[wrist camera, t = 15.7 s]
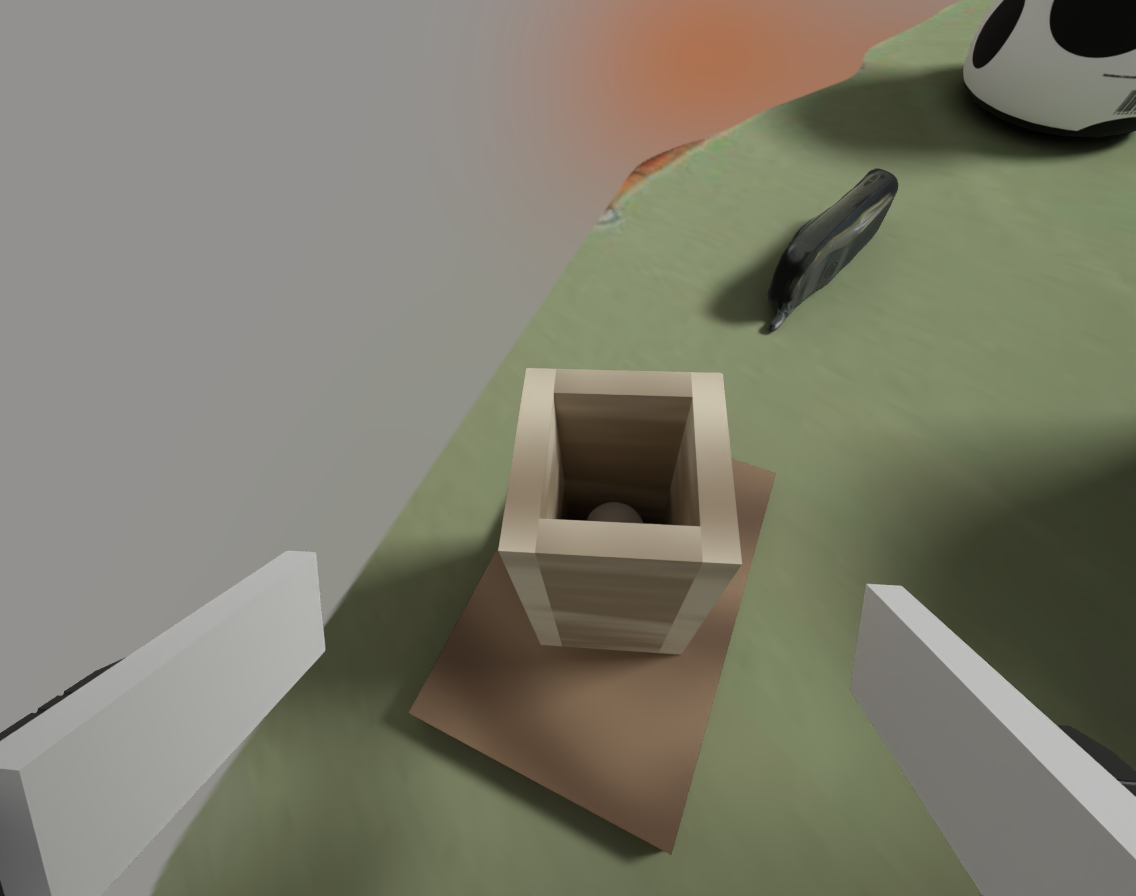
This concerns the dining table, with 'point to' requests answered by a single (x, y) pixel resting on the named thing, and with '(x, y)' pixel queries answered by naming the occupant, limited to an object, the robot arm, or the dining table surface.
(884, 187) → the mobile phone
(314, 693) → the dining table surface
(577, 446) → the wooden pencil cup
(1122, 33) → the doce de leite jar
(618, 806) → the flat brown rectangular board
